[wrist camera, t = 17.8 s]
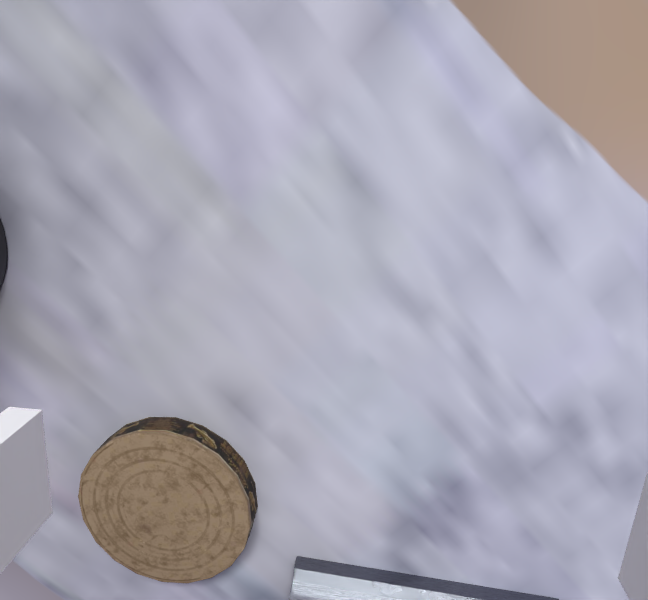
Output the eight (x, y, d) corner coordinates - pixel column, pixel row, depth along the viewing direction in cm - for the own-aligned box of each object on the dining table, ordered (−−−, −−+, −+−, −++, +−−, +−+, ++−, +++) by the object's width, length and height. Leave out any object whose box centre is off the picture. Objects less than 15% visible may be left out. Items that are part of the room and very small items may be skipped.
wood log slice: (158, 381, 47) (143, 397, 45) (293, 493, 49) (287, 515, 46) (65, 486, 52) (46, 507, 49) (191, 585, 54) (179, 611, 51)
